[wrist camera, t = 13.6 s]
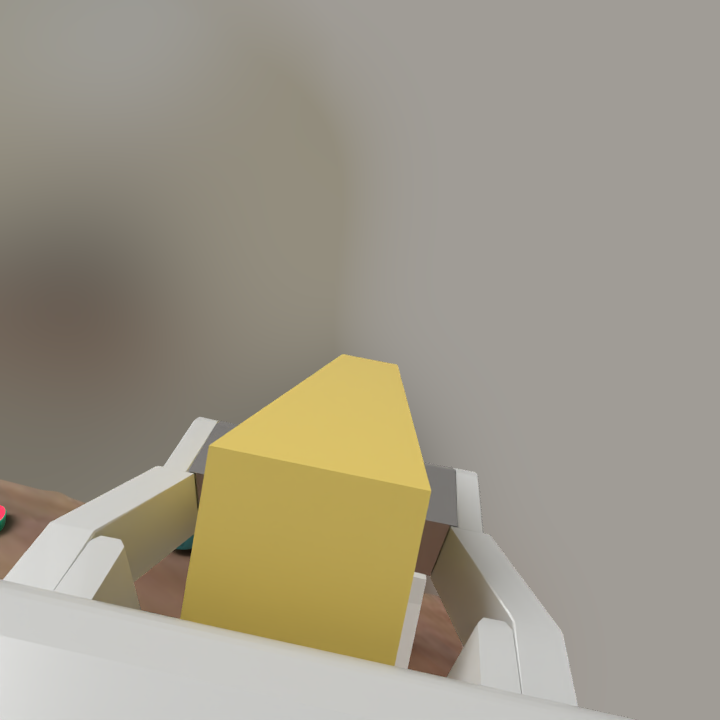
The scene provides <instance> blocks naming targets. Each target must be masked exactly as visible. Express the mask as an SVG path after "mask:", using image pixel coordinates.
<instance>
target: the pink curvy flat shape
mask: <svg viewBox="0 0 720 720" xmlns="http://www.w3.org/2000/svg"><path fill="white" fill-rule="evenodd" d="M6 513H7V511H6V509H5V507H3V506H0V531H1V530H2V529H3V527H4V526H5V521H6Z"/></svg>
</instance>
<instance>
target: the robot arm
mask: <svg viewBox="0 0 720 720" xmlns="http://www.w3.org/2000/svg"><path fill="white" fill-rule="evenodd" d="M237 426H238V425H236V424H231V423H227V422H222V421H216V420H212V419H207V418H203V417H199V418H197V419H196V420H194V422H193V423H192V425H191V426H190V428H189V429H188V431H187V432H186V434H185V435H184V437H183V438H182V440H181V441H180V443H179V444H178V446H177V447H176V449H175V450H174V452H173V453H172V455H171V456H170V458H169V459H168V461H167V462H166V464H165V465H164V467H160V466H156V467H154V468H152V469H150V470H148V471H146V472H144V473H143V474H141V475H139V476H137V477H135V478H133V479H131V480H130V481H127V482H126V483H124V484H122V485H120V486H118V487H116V488H114V489H113V490H111V491H109V492H107V493H105V494H103V495H101V496H99V497H98V498H95V499H94V500H92V501H90V502H88V503H86V504H84V505H82V506H80V507H78V508H77V509H75V510H73V511H71V512H69V513H67V514H65V515H63V516H61V517H60V518H58V519H56V520H54V521H52V522H50V523H49V525H48V526H47V527H46V528H45V529H44V531H43V532H42V533H41V534H40V535H39V537H38V538H37V539H36V540H35V541H34V543H33V544H32V545H31V546H30V548H29V549H28V550H27V551H26V552H25V554H24V555H23V556H22V557H21V558H20V560H19V561H18V562H17V563H16V564H15V566H14V567H13V568H12V569H11V571H10V572H9V573H8V574H7V575H6V577H5V578H4V579H3V580H0V720H636V719H632V718H628V717H623V716H619V715H614V714H609V713H605V712H600V711H596V710H591V709H587V708H582V707H578V704H577V699H576V694H575V689H574V685H573V680H572V676H571V670H570V665H569V661H568V656H567V651H566V646H565V642H564V637H563V633H562V631H561V630H560V628H559V627H558V626H557V624H556V623H555V622H554V620H553V619H552V618H551V616H550V615H549V614H548V612H547V611H546V610H545V608H544V607H543V605H542V604H541V603H540V601H539V600H538V599H537V597H536V596H535V595H534V593H533V592H532V591H531V589H530V588H529V586H528V585H527V584H526V582H525V581H524V580H523V578H522V577H521V576H520V574H519V573H518V572H517V570H516V569H515V568H514V566H513V565H512V563H511V562H510V561H509V559H508V558H507V557H506V555H505V554H504V553H503V551H502V550H501V549H500V547H499V546H498V544H497V543H496V542H495V540H494V539H493V538H492V537H491V535H490V534H486V533H484V532H483V522H482V513H481V501H480V491H479V481H478V475H477V473H476V472H471V471H466V470H461V469H456V468H455V469H453V468H451V467H445V466H440V465H435V464H430V463H424V466H425V469H426V473H427V477H428V481H429V484H430V488H431V495H430V500H429V505H428V509H427V514H426V519H425V524H424V528H423V533H422V538H421V543H420V547H419V552H418V557H417V562H416V566H415V571H414V572H417V573H421V574H425V575H429V576H431V580H432V582H433V584H434V586H435V588H436V590H437V592H438V595H439V597H440V599H441V601H442V603H443V605H444V607H445V609H446V611H447V613H448V615H449V617H450V619H451V622H452V624H453V626H454V628H455V630H456V632H457V634H458V636H459V638H460V640H461V642H462V644H463V646H464V648H463V650H462V651H461V653H460V655H459V657H458V658H457V660H456V662H455V664H454V665H453V667H452V669H451V671H450V672H449V674H448V676H447V677H442V676H437V675H433V674H428V673H423V672H419V671H414V670H410V669H405V668H401V667H396V666H392V665H387V664H383V663H378V662H373V661H369V660H364V659H360V658H355V657H351V656H346V655H342V654H337V653H333V652H328V651H324V650H319V649H314V648H310V647H305V646H301V645H296V644H292V643H287V642H283V641H278V640H274V639H269V638H265V637H260V636H256V635H251V634H246V633H242V632H237V631H233V630H228V629H224V628H219V627H214V626H210V625H205V624H201V623H196V622H192V621H187V620H183V619H178V618H173V617H169V616H164V615H160V614H155V613H151V612H146V611H141V608H140V605H139V601H138V597H137V593H136V590H135V586H134V582H135V581H136V580H137V579H138V578H140V577H141V576H142V575H143V574H145V573H146V572H147V571H148V570H150V569H151V568H152V567H153V566H155V565H156V564H157V563H158V562H160V561H161V560H162V559H163V558H165V557H166V556H167V555H168V554H170V553H171V552H172V551H173V550H175V549H176V548H177V547H178V546H180V545H181V544H182V543H183V542H185V541H186V540H187V539H188V538H190V537H191V536H192V535H193V534H194V533H195V527H196V521H197V515H198V509H199V503H200V497H201V491H202V485H203V479H204V473H205V467H206V460H207V454H208V448H209V445H210V444H212V443H213V442H215V441H216V440H218V439H219V438H221V437H222V436H223V435H225V434H226V433H228V432H229V431H231V430H232V429H234V428H235V427H237Z"/></svg>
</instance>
